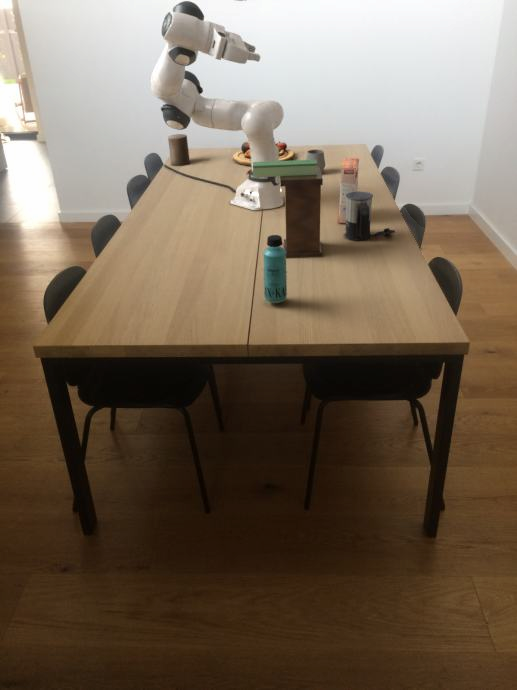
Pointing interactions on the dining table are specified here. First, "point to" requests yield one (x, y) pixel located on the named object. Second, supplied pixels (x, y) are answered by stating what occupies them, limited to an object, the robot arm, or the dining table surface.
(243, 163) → the wooden plate
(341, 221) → the cracker box
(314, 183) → the walnut stand
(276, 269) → the beverage bottle
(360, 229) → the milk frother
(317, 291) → the dining table surface
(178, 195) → the dining table surface
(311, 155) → the cup
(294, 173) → the green rectangular bar
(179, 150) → the pillar candle
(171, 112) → the robot arm
